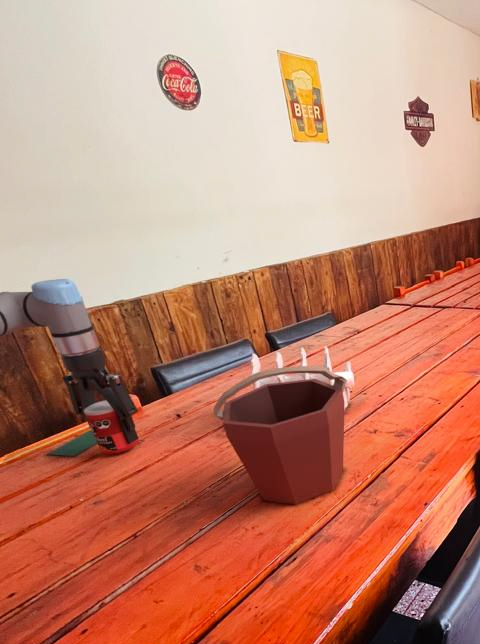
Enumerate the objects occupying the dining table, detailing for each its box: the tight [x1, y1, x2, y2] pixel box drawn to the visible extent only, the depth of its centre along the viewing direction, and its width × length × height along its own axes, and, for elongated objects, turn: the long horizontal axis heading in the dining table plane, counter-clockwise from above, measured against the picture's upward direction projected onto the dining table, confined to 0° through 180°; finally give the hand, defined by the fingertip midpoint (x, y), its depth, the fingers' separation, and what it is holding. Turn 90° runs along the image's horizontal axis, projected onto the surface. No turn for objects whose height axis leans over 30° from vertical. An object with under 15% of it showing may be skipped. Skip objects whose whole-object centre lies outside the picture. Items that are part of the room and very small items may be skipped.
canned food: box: [84, 399, 139, 455], centre depth 122 cm, size 8×8×11 cm
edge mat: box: [47, 429, 98, 457], centre depth 130 cm, size 8×14×1 cm, turn 169°
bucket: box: [212, 365, 347, 505], centre depth 102 cm, size 24×22×25 cm
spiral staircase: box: [250, 345, 355, 412], centre depth 135 cm, size 18×18×25 cm
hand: (118, 440), depth 124 cm, fingers closed on canned food, 8 cm apart
